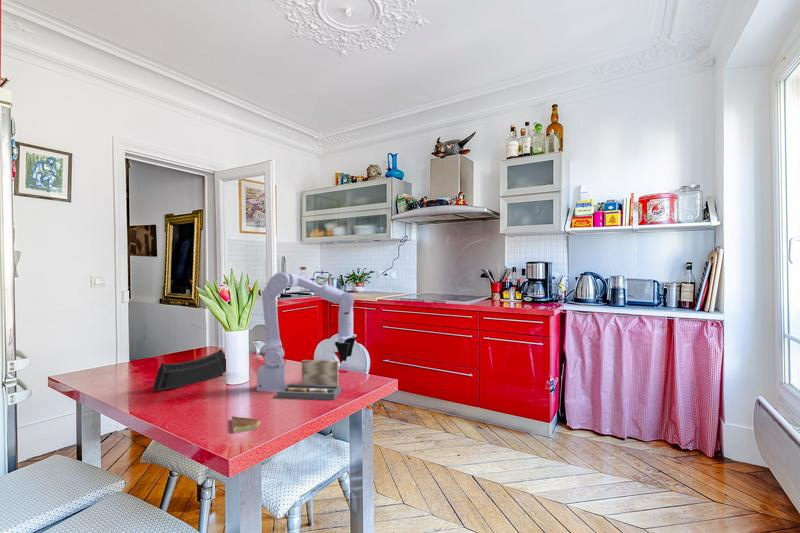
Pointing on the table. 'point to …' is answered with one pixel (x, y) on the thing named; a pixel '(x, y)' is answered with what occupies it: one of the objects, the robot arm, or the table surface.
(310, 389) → the offcut
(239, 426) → the shard
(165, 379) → the magazine
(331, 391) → the rack
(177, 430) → the table surface
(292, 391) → the offcut
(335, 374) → the sheet
